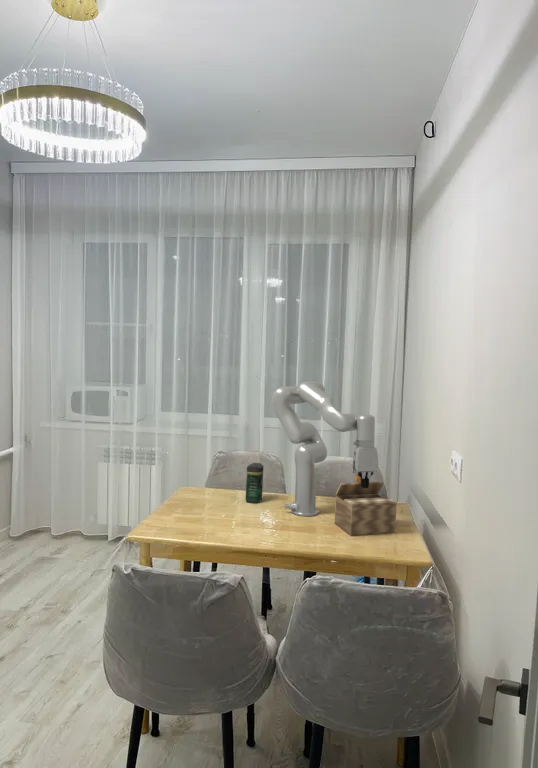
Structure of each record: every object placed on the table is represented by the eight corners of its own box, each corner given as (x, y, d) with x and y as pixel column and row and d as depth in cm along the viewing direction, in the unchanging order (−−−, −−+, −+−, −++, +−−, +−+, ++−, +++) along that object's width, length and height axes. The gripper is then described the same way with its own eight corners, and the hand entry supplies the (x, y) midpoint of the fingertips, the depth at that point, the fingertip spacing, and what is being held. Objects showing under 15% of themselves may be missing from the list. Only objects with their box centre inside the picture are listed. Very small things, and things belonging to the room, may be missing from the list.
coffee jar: (259, 504, 251) (261, 465, 250) (243, 502, 253) (245, 464, 252) (263, 499, 261) (265, 462, 260) (248, 497, 262) (249, 461, 261)
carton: (350, 536, 209) (352, 503, 209) (334, 523, 224) (335, 493, 224) (395, 533, 215) (396, 501, 214) (376, 521, 230) (377, 492, 230)
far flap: (341, 484, 219) (337, 473, 223) (335, 495, 224) (332, 484, 228) (383, 483, 225) (379, 472, 229) (377, 494, 230) (373, 483, 234)
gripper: (352, 445, 214) (352, 490, 215) (385, 444, 218) (385, 488, 219) (345, 443, 222) (344, 486, 222) (377, 442, 226) (376, 484, 226)
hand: (364, 487), depth 220 cm, fingers closed
